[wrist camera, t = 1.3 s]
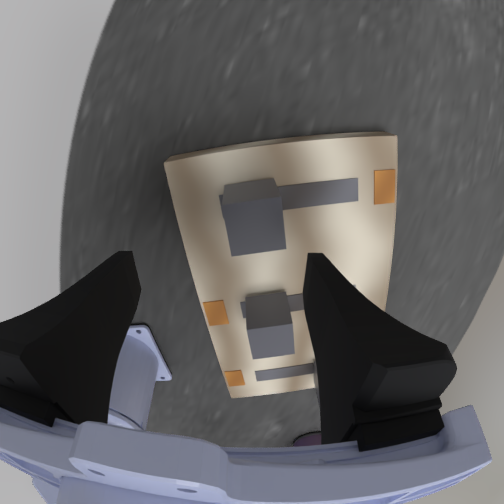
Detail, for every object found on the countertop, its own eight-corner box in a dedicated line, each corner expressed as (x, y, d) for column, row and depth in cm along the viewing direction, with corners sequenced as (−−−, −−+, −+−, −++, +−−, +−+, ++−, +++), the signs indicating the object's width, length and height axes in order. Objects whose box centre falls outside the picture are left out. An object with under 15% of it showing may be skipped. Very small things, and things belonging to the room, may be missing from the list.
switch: (232, 229, 20) (231, 256, 17) (224, 185, 18) (221, 205, 15) (278, 222, 20) (286, 249, 17) (273, 178, 18) (281, 196, 15)
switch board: (231, 383, 31) (231, 398, 29) (170, 156, 20) (163, 163, 18) (366, 362, 31) (371, 376, 29) (384, 131, 19) (397, 136, 17)
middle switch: (250, 326, 24) (252, 359, 21) (245, 297, 22) (246, 329, 19) (288, 321, 24) (294, 353, 21) (286, 291, 22) (292, 323, 19)
